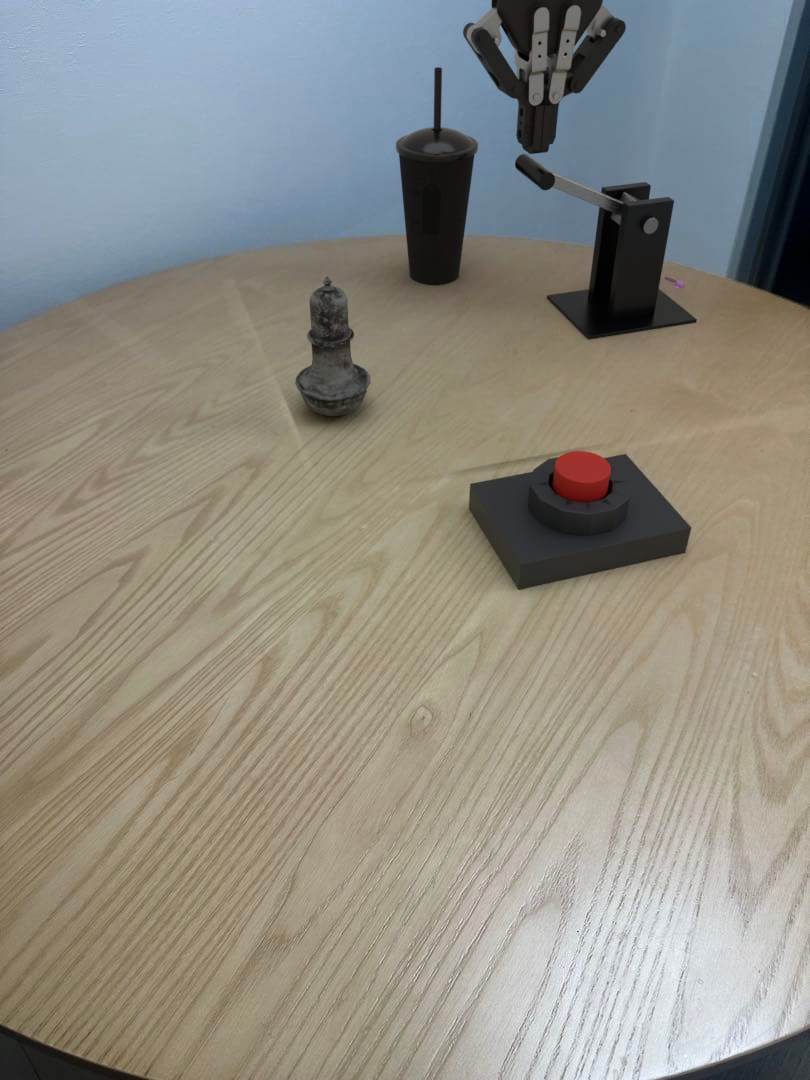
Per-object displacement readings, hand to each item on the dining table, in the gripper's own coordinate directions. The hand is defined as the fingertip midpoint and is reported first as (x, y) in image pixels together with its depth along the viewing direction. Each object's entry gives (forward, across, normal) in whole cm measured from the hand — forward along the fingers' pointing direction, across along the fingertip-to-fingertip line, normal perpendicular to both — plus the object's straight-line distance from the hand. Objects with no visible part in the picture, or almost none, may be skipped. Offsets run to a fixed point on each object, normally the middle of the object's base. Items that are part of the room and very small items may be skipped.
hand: (535, 150), depth 77 cm
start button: (+13, -8, -28) cm, 32 cm away
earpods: (+17, +18, +4) cm, 25 cm away
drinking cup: (+17, -4, +13) cm, 21 cm away
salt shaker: (+17, -20, -9) cm, 27 cm away
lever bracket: (+16, +10, 0) cm, 19 cm away
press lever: (+5, +5, 0) cm, 7 cm away
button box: (+16, -8, -28) cm, 33 cm away
